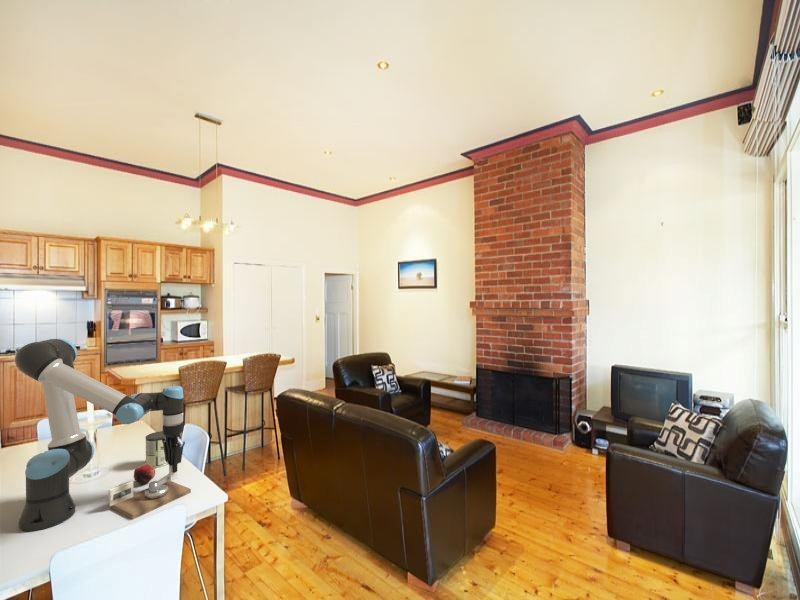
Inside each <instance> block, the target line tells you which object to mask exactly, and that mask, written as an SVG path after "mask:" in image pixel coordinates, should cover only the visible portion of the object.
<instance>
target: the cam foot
mask: <svg viewBox="0 0 800 600" xmlns="http://www.w3.org/2000/svg"><path fill="white" fill-rule="evenodd" d="M168 480H169V473H168V474H166V475H165V476H163V477H161V478H160V479H158V480H154V481H149V482H148V489H147V488H145V489H146V490H145V489H144V490H145V498H146V499H156V498H160V497H162V496H164V495H166V494H167V493H168V486H167V485H162V484H163V483H165V482H167V481H168Z"/></svg>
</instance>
